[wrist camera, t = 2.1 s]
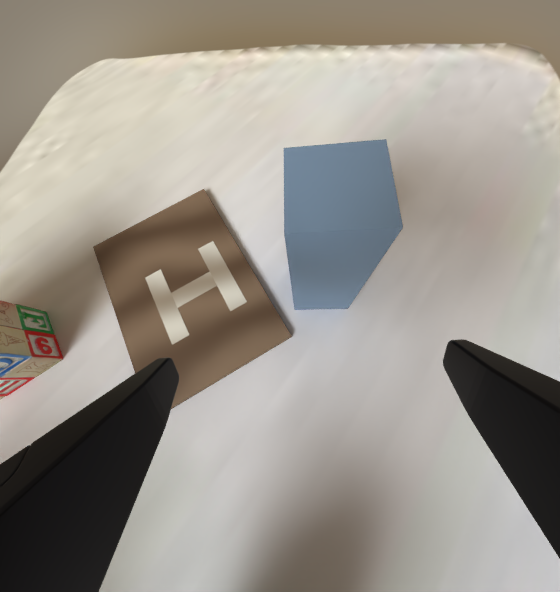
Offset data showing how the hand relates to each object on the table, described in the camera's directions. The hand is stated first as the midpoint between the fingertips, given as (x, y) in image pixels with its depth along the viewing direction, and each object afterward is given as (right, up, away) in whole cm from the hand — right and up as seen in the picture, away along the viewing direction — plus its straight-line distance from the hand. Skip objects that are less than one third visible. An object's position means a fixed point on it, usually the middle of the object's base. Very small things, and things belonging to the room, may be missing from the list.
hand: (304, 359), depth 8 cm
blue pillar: (+3, +3, +15) cm, 16 cm away
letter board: (-11, +3, +17) cm, 20 cm away
